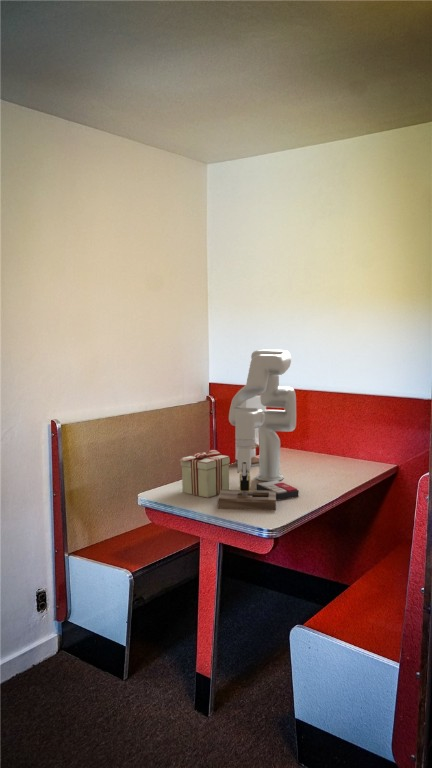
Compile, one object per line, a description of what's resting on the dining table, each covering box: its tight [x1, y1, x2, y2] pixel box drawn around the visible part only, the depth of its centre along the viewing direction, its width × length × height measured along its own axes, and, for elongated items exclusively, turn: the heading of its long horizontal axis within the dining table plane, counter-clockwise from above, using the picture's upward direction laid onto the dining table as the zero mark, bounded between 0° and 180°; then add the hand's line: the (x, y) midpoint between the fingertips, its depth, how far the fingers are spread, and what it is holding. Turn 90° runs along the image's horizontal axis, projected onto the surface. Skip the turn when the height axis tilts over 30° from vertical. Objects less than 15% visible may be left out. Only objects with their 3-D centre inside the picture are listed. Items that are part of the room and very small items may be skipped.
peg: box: [239, 473, 251, 496], centre depth 241 cm, size 5×5×12 cm
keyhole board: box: [217, 489, 277, 511], centre depth 241 cm, size 13×22×4 cm, turn 84°
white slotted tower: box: [234, 395, 267, 468], centre depth 309 cm, size 11×11×35 cm
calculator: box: [256, 480, 300, 501], centre depth 256 cm, size 11×4×15 cm
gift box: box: [177, 449, 231, 499], centre depth 259 cm, size 17×18×17 cm
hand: (244, 488), depth 241 cm, fingers closed on peg, 4 cm apart
